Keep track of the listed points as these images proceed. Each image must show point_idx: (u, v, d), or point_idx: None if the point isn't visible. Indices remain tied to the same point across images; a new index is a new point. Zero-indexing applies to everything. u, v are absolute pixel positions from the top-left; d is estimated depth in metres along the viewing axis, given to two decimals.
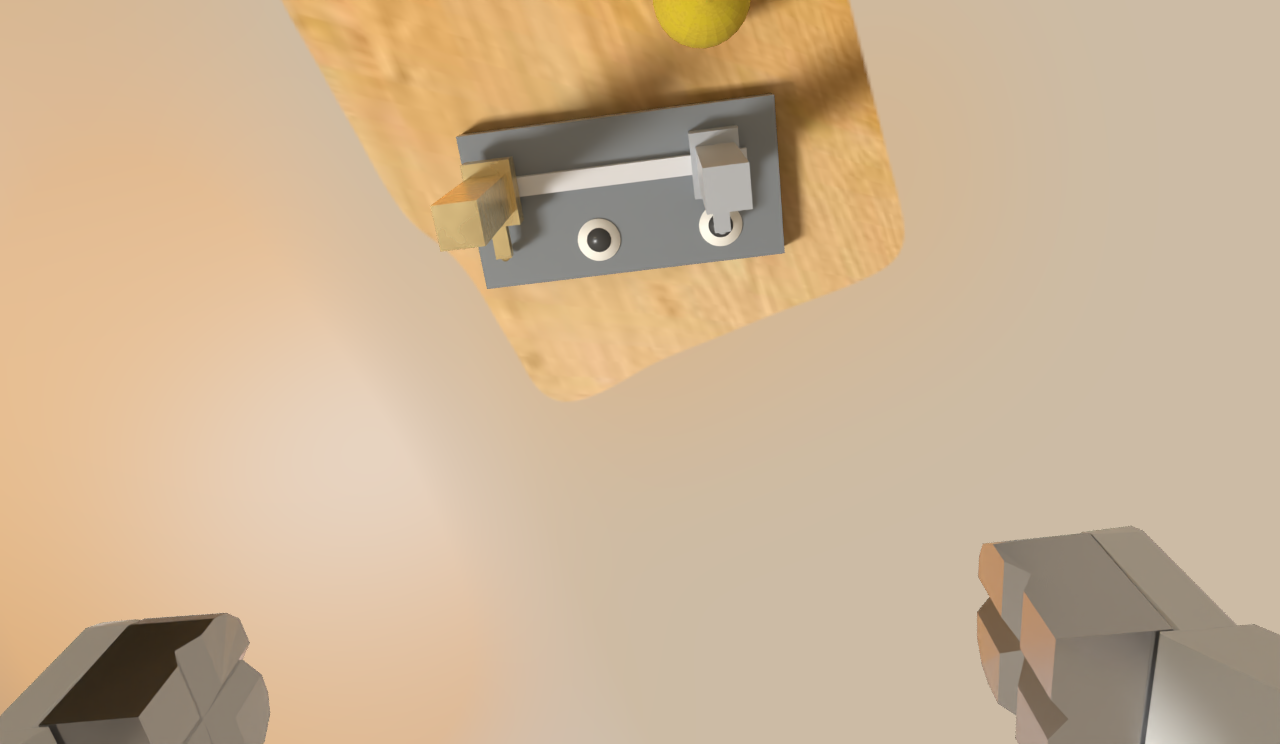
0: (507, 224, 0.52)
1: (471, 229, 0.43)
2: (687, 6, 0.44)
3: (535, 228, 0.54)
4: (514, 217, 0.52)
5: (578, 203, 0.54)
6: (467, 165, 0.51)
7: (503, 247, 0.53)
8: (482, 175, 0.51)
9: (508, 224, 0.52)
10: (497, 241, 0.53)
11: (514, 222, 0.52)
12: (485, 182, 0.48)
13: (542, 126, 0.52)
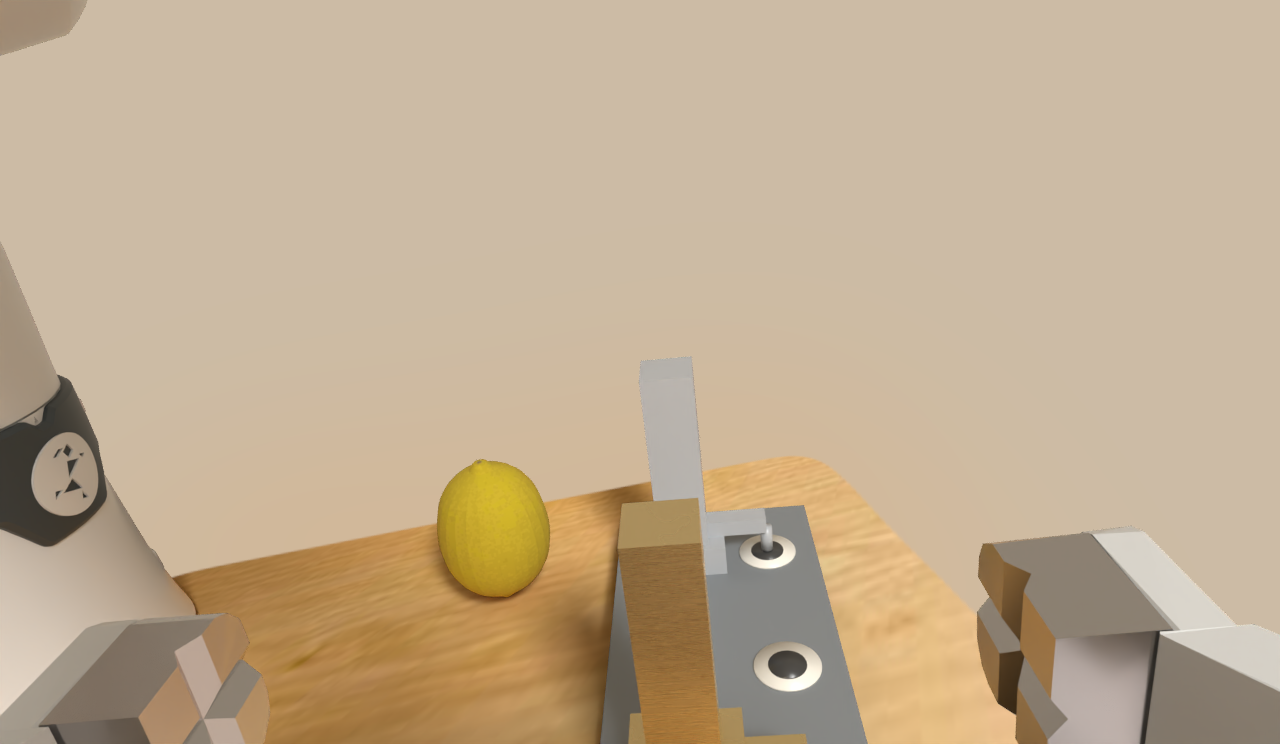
0: (740, 725, 0.29)
1: (668, 509, 0.25)
2: (488, 482, 0.40)
3: None
4: (728, 713, 0.29)
5: (728, 687, 0.34)
6: None
7: (786, 743, 0.28)
8: None
9: (740, 723, 0.29)
10: None
11: (737, 714, 0.29)
12: None
13: (603, 723, 0.33)
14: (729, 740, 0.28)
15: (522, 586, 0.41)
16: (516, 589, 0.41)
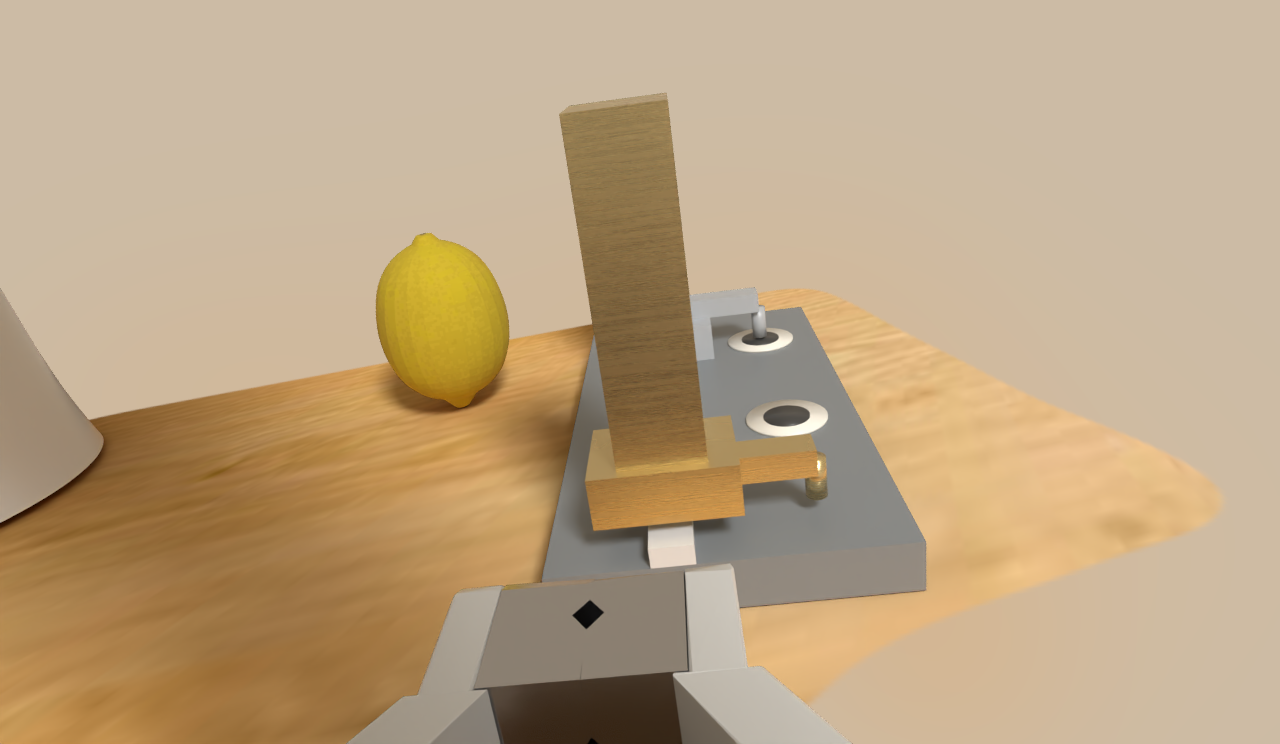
0: (729, 428, 0.23)
1: (627, 99, 0.20)
2: (433, 252, 0.34)
3: None
4: (714, 421, 0.24)
5: None
6: (588, 475, 0.22)
7: (787, 442, 0.23)
8: None
9: (729, 426, 0.23)
10: (772, 449, 0.22)
11: (725, 420, 0.24)
12: None
13: (565, 476, 0.27)
14: (714, 439, 0.23)
15: (477, 383, 0.36)
16: (469, 385, 0.35)
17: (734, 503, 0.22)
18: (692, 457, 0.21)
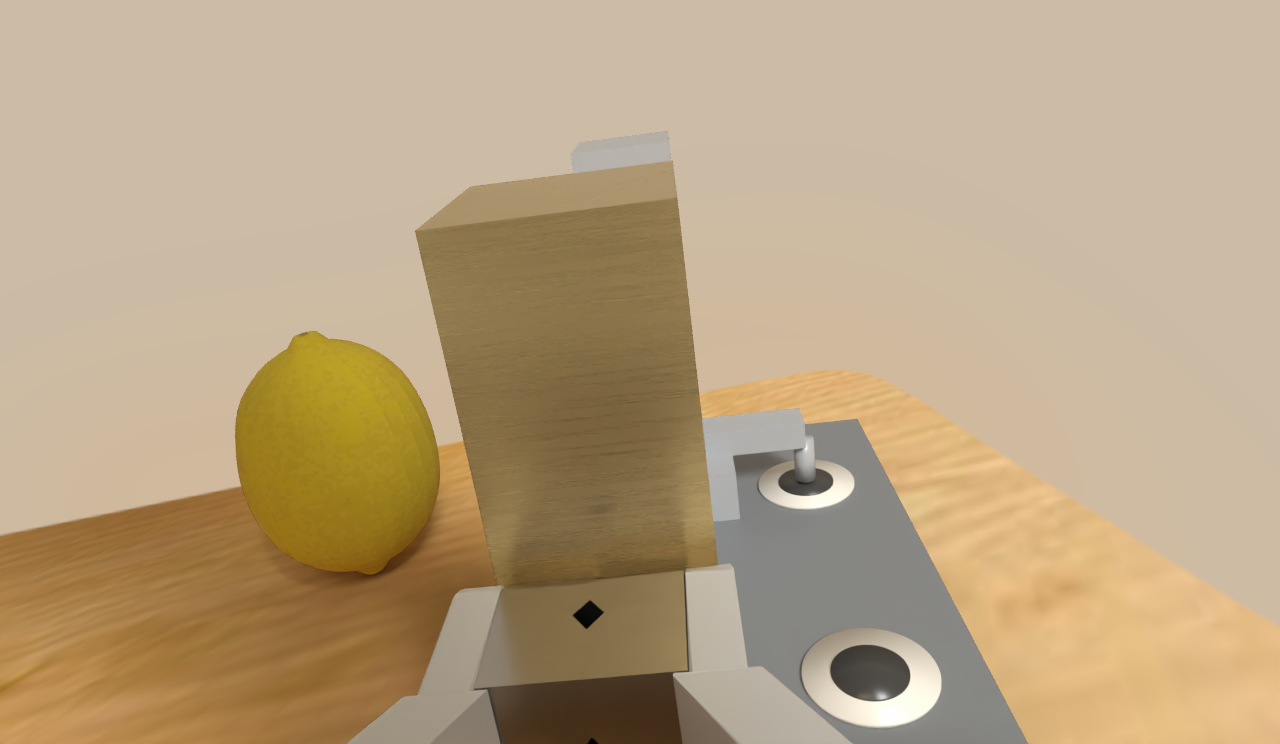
0: None
1: (588, 179, 0.09)
2: (316, 364, 0.23)
3: None
4: None
5: None
6: None
7: None
8: None
9: None
10: None
11: None
12: None
13: None
14: None
15: (387, 551, 0.24)
16: (376, 556, 0.24)
17: None
18: None
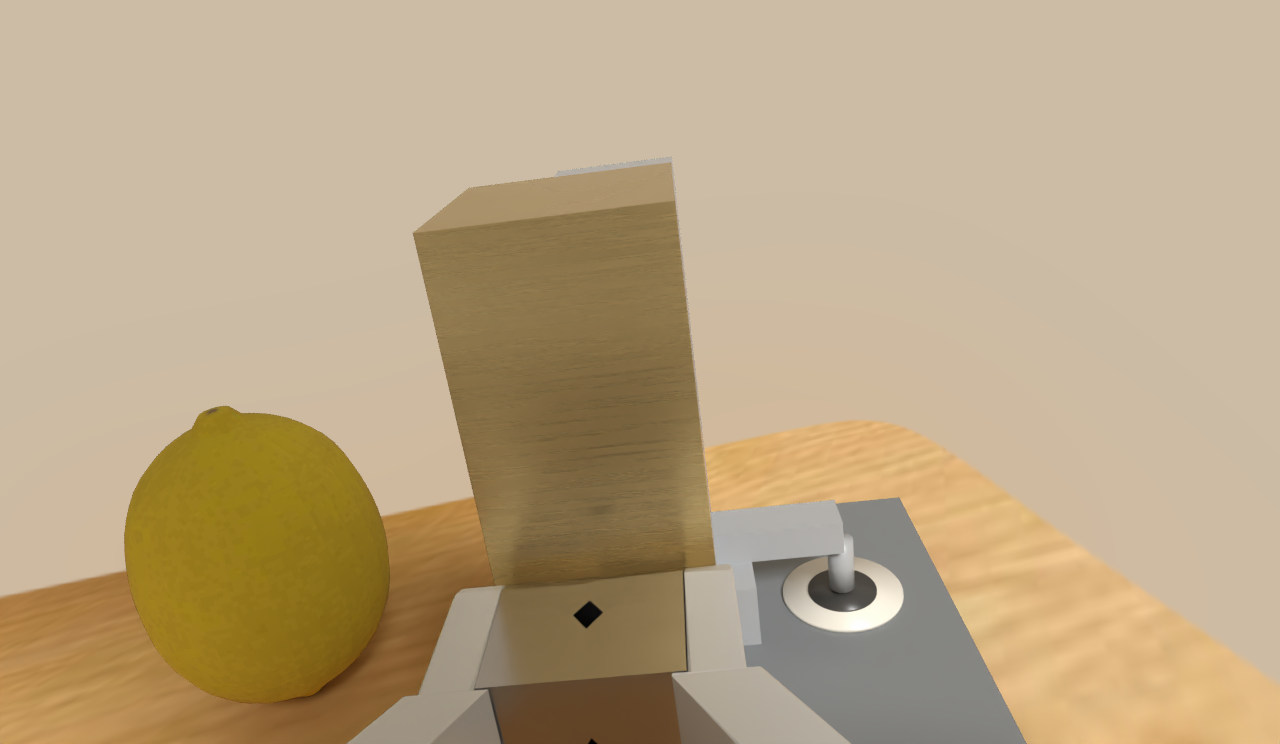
0: None
1: (586, 180, 0.09)
2: (224, 453, 0.18)
3: None
4: None
5: None
6: None
7: None
8: None
9: None
10: None
11: None
12: None
13: None
14: None
15: (320, 680, 0.19)
16: (305, 687, 0.19)
17: None
18: None
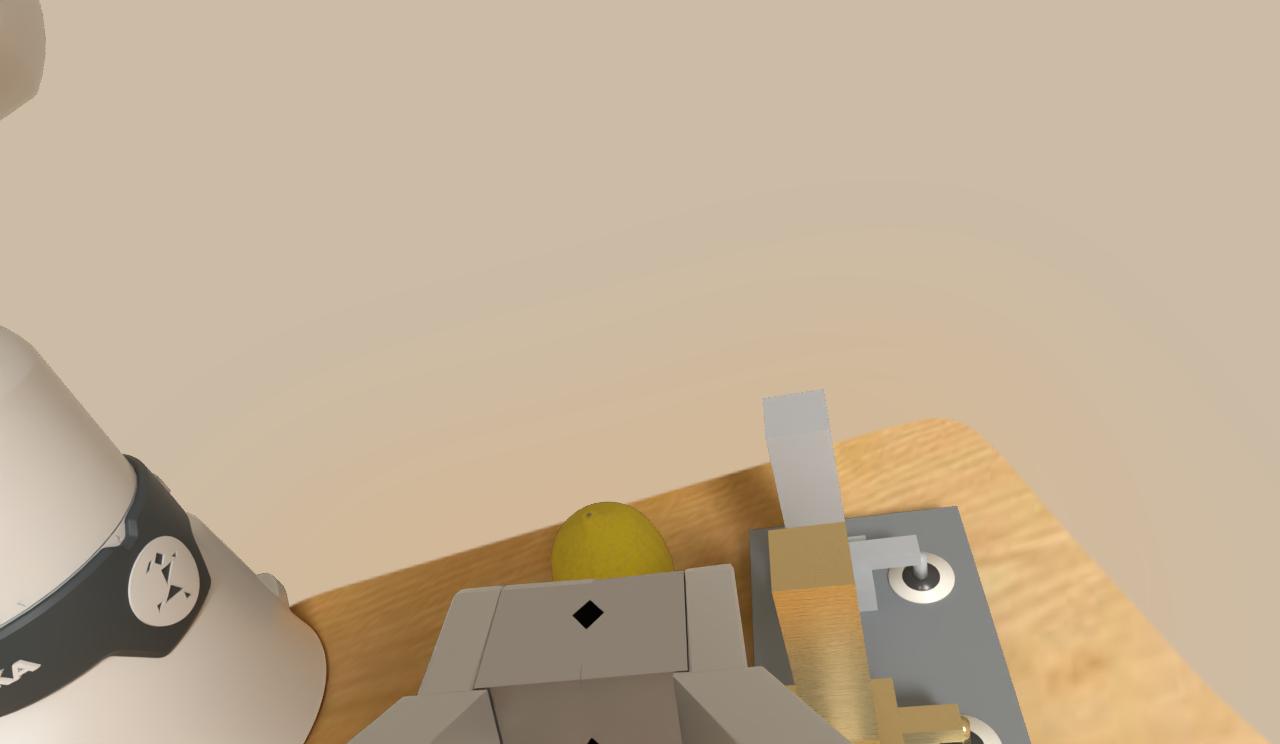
0: (893, 697, 0.30)
1: (816, 538, 0.26)
2: (602, 539, 0.36)
3: None
4: (879, 685, 0.31)
5: None
6: None
7: (939, 714, 0.30)
8: None
9: (892, 695, 0.30)
10: (928, 723, 0.30)
11: (888, 685, 0.31)
12: None
13: None
14: (883, 713, 0.30)
15: None
16: None
17: None
18: None
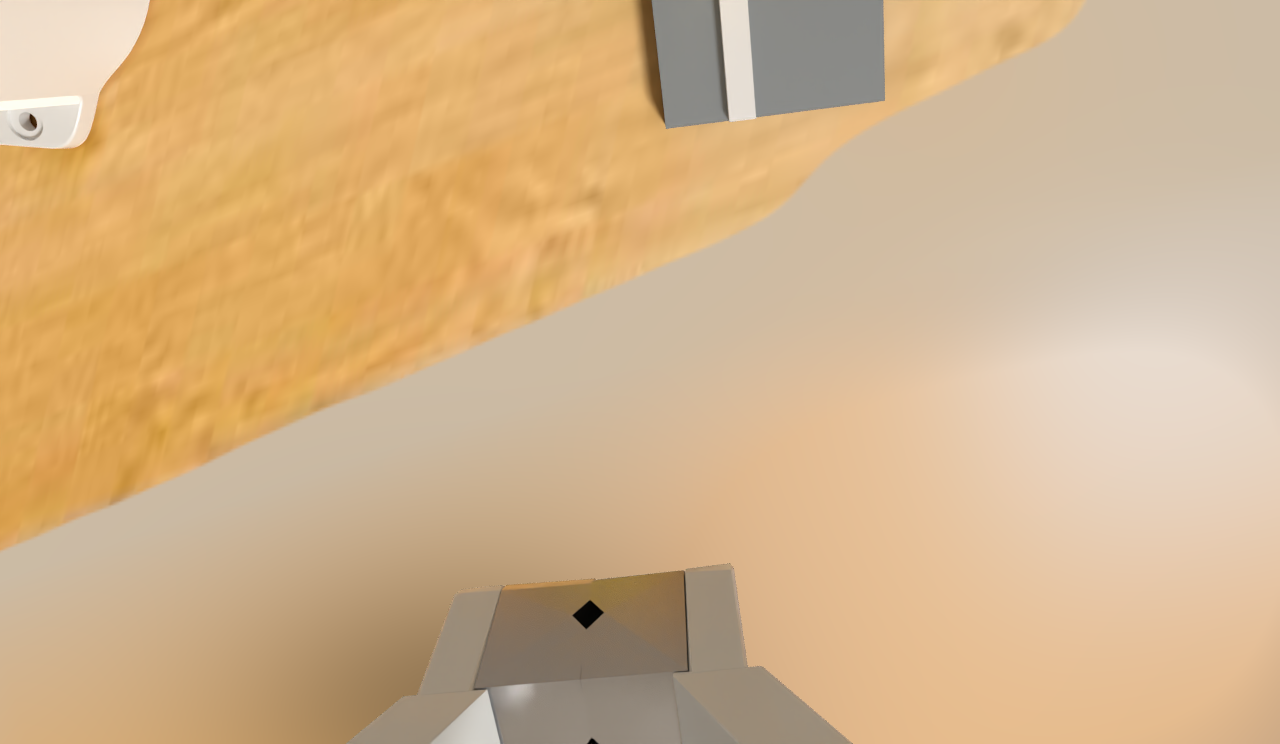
0: None
1: None
2: None
3: (799, 17, 0.37)
4: None
5: None
6: None
7: None
8: None
9: None
10: None
11: None
12: None
13: None
14: None
15: None
16: None
17: None
18: None
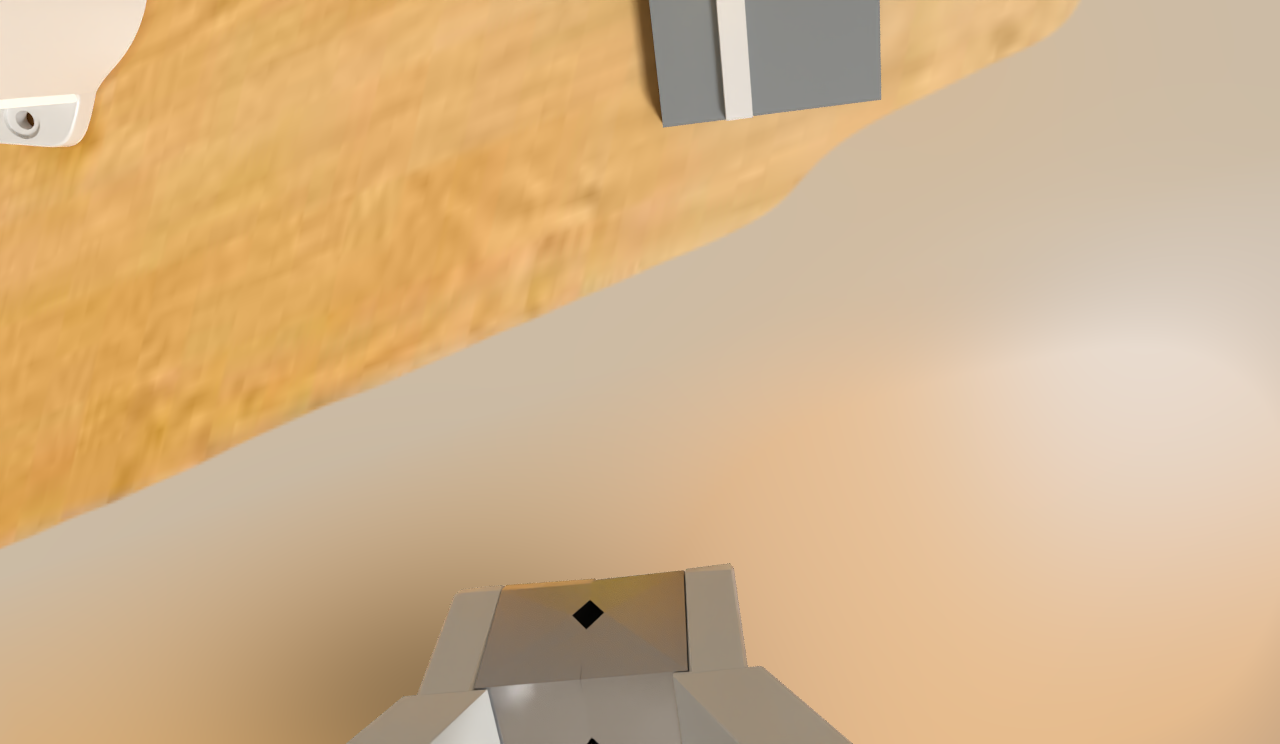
0: None
1: None
2: None
3: (795, 16, 0.37)
4: None
5: None
6: None
7: None
8: None
9: None
10: None
11: None
12: None
13: None
14: None
15: None
16: None
17: None
18: None
